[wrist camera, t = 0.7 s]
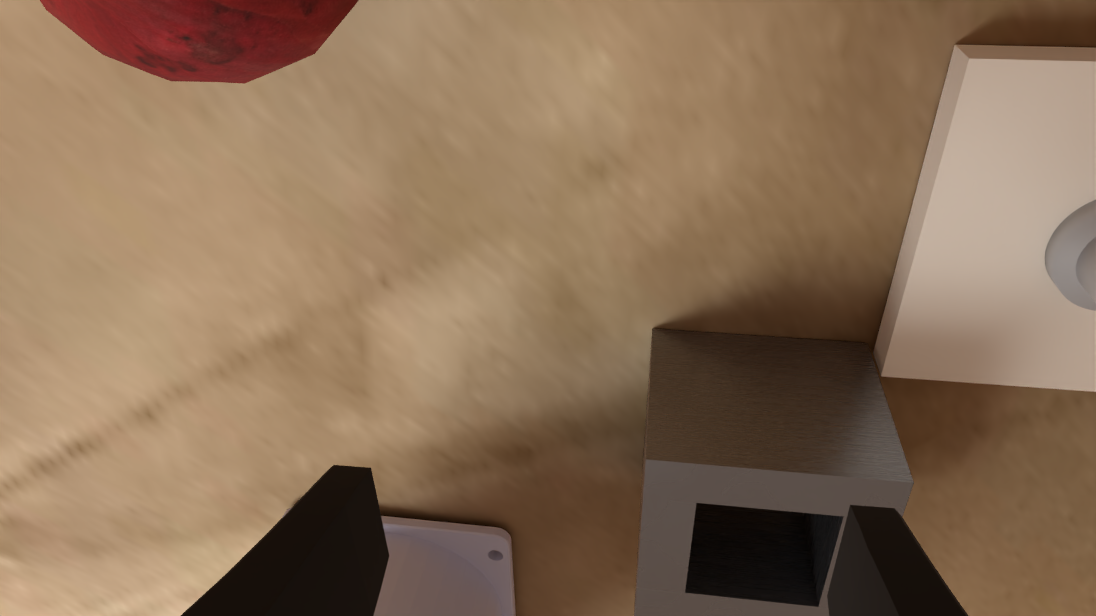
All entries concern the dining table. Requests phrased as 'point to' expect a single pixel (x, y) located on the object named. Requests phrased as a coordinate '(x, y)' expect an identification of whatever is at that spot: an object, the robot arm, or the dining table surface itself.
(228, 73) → the onion
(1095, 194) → the post block
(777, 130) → the dining table surface
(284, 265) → the dining table surface
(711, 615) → the collar
